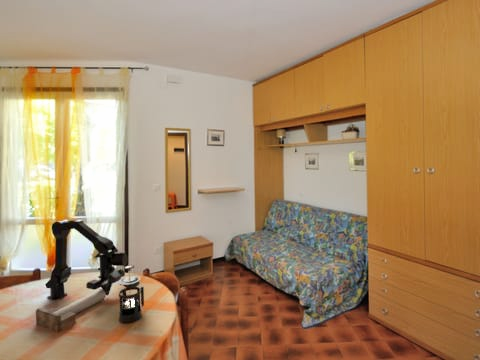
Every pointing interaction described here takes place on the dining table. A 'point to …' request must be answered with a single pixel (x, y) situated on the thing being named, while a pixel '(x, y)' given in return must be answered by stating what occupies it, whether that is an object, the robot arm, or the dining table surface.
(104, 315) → the dining table surface
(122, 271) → the robot arm
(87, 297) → the tube
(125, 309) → the french press
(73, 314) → the socket
